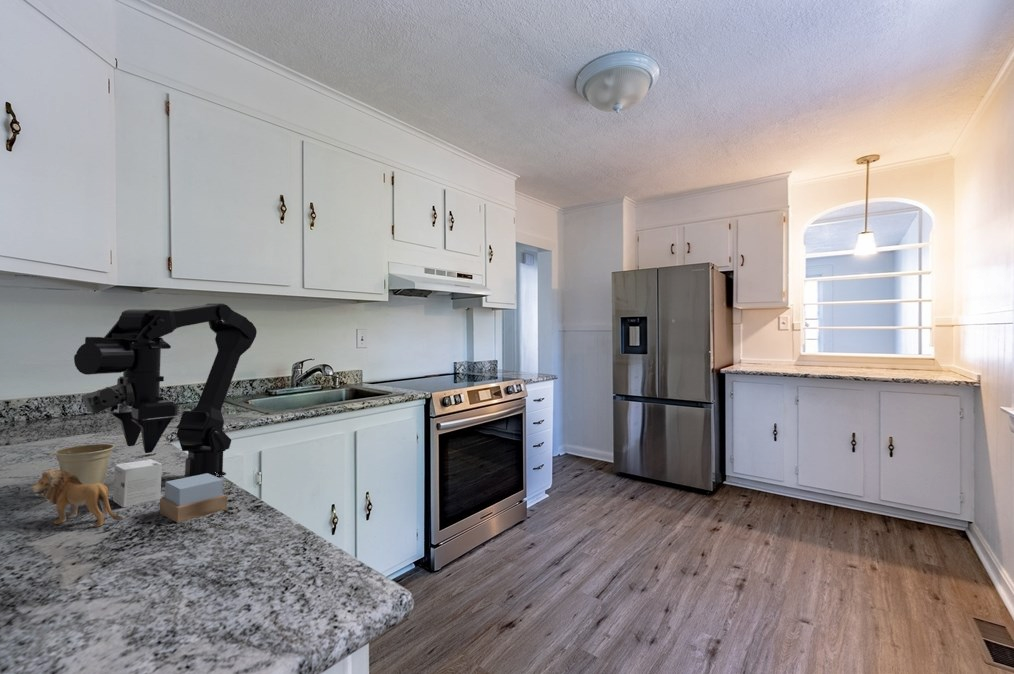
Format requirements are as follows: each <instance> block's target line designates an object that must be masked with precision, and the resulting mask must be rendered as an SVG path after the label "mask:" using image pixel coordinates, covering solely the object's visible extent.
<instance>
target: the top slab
mask: <svg viewBox="0 0 1014 674" xmlns="http://www.w3.org/2000/svg"><path fill="white" fill-rule="evenodd" d="M164 485H165V487H164V489H165V491H164V498H166V499H168V500H170V501H172V502H173V503H175V504H177V505H178V506H182V505H186V504H190V503H194V502H198V501H203V500H207V499H211V498H215V497H219V496H223V494H224V479H222V478H221V477H219V476H218V477H216V476H213V475H211V474H208V473H206V474H201V475H196V476H191V477H182V478H179V479H172V480H166V481H165V484H164Z"/></svg>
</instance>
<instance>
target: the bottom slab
mask: <svg viewBox="0 0 1014 674" xmlns="http://www.w3.org/2000/svg"><path fill="white" fill-rule="evenodd" d="M227 509H228V495H226V494H224V493H223V496H219V497H215V498H211V499H207V500H203V501H198V502H194V503H190V504H186V505H182V506H178V505H177V504H175V503H173V502H172V501H170V500H168V499H166V498H165V497H163V498H161V497H160V500H159V514H161V515H163V516H165V517H166V518H168V519H170V520H172V521H174V522H175V523H177V524H178V523H179V524H180V523H182V522H186V521H190V520H193V519H198V518H200V517H201V518H202V517H204V516H207V515H211V514H214V513H219V512H222V510H223V511H226V510H227Z"/></svg>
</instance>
